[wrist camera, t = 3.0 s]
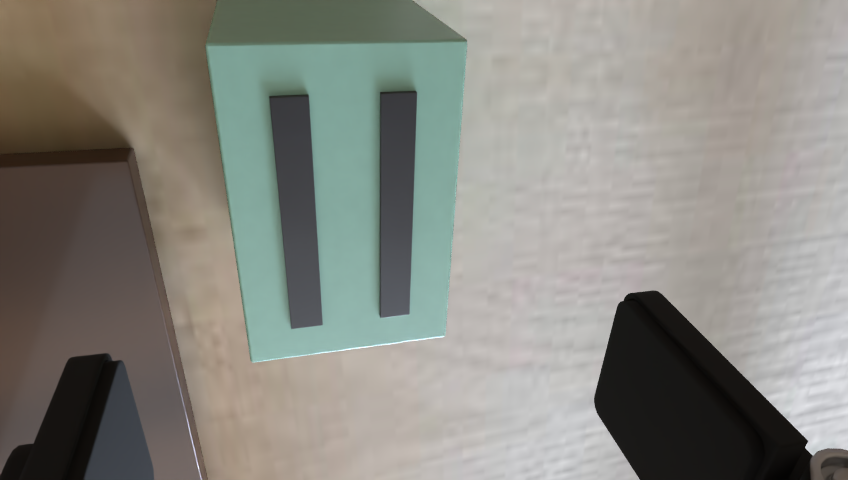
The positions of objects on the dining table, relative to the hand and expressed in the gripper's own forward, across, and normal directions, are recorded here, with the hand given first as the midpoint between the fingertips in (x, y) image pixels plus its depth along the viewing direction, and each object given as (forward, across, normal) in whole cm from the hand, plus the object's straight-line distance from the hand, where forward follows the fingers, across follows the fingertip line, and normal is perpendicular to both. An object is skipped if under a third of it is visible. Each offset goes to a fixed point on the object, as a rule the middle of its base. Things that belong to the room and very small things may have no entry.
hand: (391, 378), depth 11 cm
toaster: (+13, 0, 0) cm, 13 cm away
